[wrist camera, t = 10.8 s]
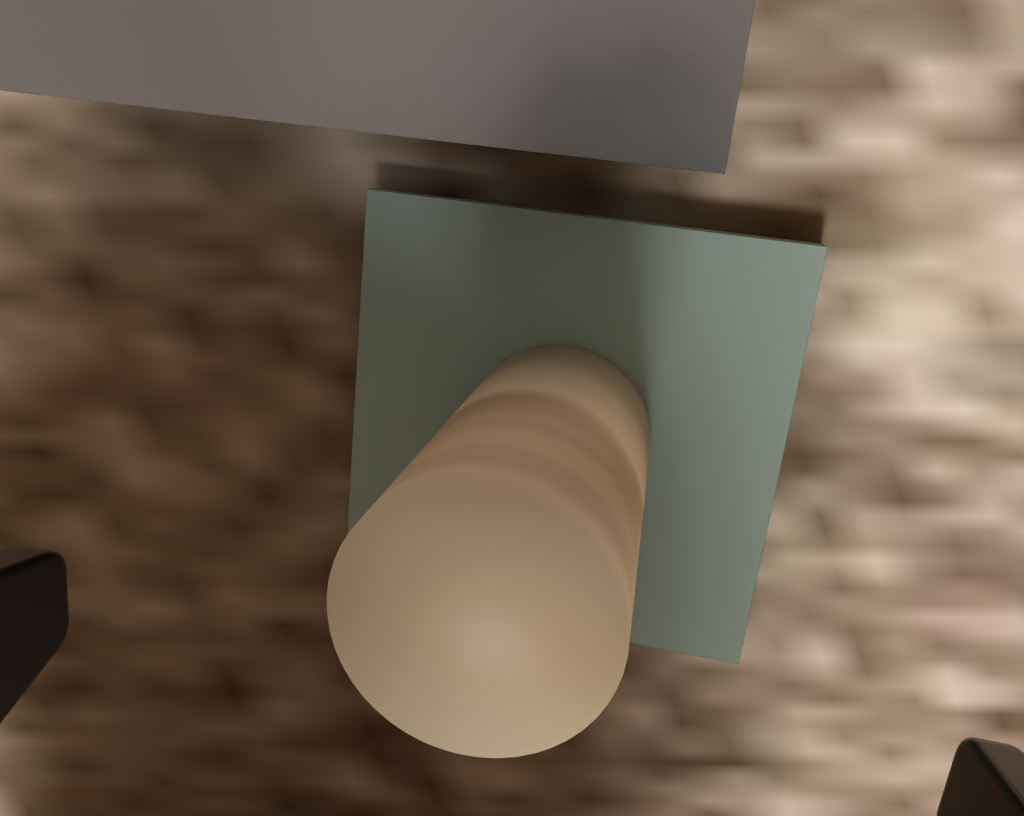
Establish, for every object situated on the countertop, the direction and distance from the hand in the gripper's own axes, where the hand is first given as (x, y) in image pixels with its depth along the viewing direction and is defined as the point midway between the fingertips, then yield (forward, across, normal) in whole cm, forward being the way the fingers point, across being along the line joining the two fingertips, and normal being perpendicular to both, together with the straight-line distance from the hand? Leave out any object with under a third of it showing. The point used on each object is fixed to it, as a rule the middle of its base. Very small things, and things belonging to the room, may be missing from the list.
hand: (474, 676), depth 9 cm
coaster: (+9, 0, 0) cm, 9 cm away
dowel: (+8, 0, 0) cm, 8 cm away
